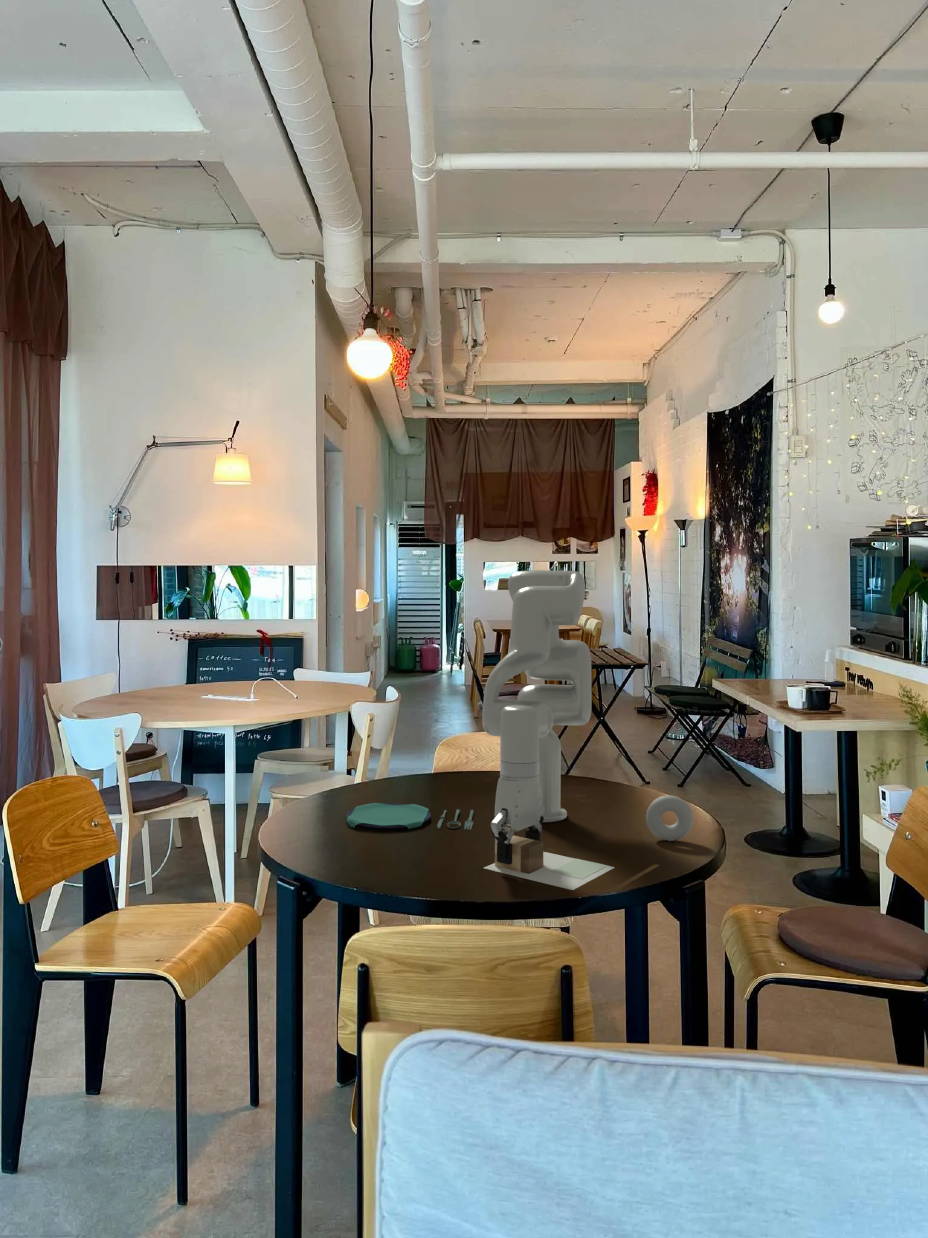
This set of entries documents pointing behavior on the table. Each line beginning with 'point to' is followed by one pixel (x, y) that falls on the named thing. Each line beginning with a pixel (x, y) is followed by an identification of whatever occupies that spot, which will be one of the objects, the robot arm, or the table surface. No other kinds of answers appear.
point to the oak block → (524, 855)
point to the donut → (675, 806)
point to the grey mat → (560, 871)
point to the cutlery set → (396, 816)
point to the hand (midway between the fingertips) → (518, 857)
